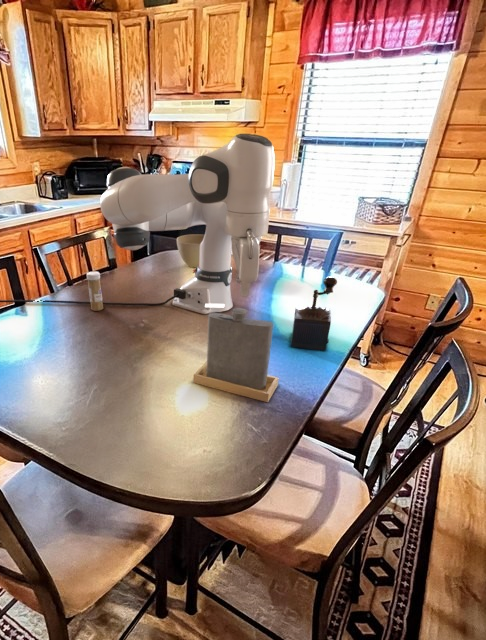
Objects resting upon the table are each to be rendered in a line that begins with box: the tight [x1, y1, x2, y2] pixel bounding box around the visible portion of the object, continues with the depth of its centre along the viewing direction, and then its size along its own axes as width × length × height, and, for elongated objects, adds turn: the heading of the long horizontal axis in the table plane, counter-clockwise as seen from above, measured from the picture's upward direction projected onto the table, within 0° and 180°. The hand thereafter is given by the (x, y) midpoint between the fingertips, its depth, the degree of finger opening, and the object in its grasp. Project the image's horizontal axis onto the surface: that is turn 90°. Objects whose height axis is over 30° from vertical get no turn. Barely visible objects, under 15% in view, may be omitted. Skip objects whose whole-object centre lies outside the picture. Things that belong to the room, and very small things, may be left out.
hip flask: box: [206, 307, 274, 390], centre depth 102 cm, size 16×4×20 cm, turn 65°
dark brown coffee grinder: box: [290, 276, 338, 351], centre depth 125 cm, size 16×11×18 cm
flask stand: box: [193, 360, 280, 403], centre depth 107 cm, size 20×9×2 cm, turn 62°
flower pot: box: [176, 233, 205, 268], centre depth 194 cm, size 18×18×12 cm
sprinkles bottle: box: [86, 270, 104, 312], centre depth 149 cm, size 5×5×14 cm
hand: (242, 288), depth 94 cm, fingers open, 8 cm apart
